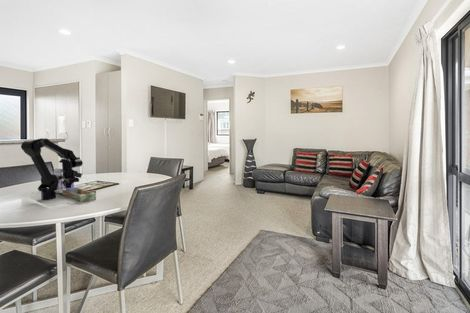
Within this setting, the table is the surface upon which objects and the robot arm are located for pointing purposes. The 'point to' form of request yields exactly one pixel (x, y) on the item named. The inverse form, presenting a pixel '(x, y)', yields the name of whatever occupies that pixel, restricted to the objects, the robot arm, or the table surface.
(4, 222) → the table surface
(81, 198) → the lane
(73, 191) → the block
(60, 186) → the candy box
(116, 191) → the table surface
